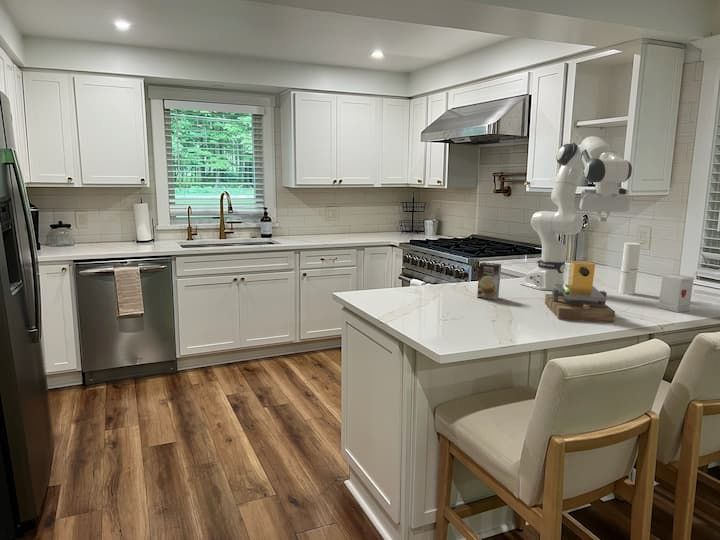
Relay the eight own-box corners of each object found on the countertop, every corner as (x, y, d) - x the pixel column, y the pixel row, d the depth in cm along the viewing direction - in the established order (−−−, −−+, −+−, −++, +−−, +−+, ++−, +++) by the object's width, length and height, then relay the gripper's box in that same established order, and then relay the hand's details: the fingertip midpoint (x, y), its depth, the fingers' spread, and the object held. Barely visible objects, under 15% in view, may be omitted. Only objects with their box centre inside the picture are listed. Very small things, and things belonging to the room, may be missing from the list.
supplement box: (677, 312, 228) (681, 278, 226) (657, 307, 236) (661, 274, 234) (689, 310, 233) (694, 277, 230) (670, 306, 240) (674, 273, 238)
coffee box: (476, 297, 246) (478, 263, 244) (479, 295, 252) (481, 261, 249) (496, 300, 243) (498, 265, 240) (499, 297, 248) (501, 263, 245)
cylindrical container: (636, 295, 261) (642, 244, 257) (620, 294, 262) (626, 244, 258) (632, 292, 268) (638, 242, 264) (616, 291, 269) (622, 242, 265)
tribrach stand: (544, 303, 238) (546, 283, 236) (593, 306, 235) (596, 285, 234) (558, 319, 213) (560, 296, 211) (613, 322, 210) (616, 298, 208)
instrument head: (554, 287, 232) (557, 257, 229) (592, 289, 230) (596, 258, 227) (564, 299, 215) (568, 266, 212) (605, 301, 213) (610, 268, 210)
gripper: (583, 189, 232) (580, 221, 234) (632, 190, 229) (629, 222, 232) (579, 189, 238) (576, 220, 240) (627, 190, 235) (623, 221, 238)
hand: (602, 221), depth 236 cm, fingers closed
